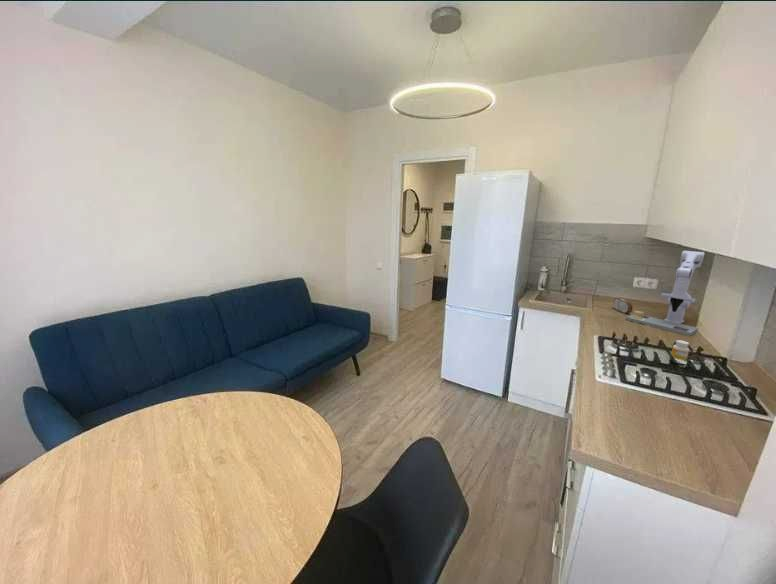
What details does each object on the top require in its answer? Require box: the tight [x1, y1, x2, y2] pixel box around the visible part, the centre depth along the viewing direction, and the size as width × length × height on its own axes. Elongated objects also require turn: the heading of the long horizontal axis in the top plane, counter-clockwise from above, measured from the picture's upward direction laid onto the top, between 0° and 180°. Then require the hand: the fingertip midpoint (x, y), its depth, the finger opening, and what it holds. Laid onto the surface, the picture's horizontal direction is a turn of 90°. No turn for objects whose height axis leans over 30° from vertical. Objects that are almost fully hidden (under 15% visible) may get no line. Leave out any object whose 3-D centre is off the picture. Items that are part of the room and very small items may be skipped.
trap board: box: [625, 313, 699, 337], centre depth 188 cm, size 14×30×2 cm, turn 35°
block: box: [632, 310, 645, 320], centre depth 193 cm, size 4×4×4 cm
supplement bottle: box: [670, 339, 690, 360], centre depth 139 cm, size 5×5×10 cm
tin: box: [613, 297, 633, 314], centre depth 213 cm, size 15×3×8 cm, turn 179°
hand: (674, 311), depth 184 cm, fingers closed
